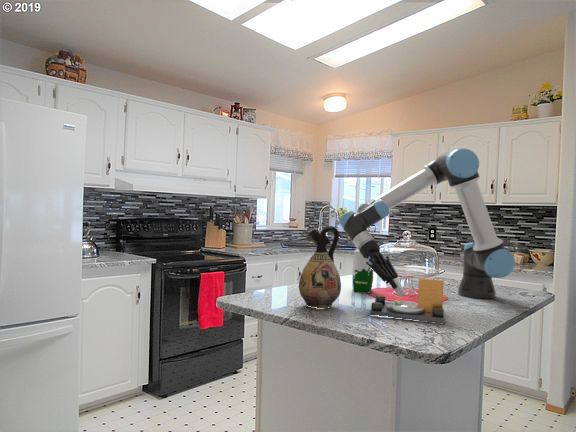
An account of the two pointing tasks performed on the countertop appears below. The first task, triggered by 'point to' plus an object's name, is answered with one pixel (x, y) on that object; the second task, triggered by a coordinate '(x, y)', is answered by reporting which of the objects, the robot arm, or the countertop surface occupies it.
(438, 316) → the tribrach plate
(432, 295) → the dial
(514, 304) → the countertop surface
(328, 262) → the ceramic jug
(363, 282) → the milk carton
